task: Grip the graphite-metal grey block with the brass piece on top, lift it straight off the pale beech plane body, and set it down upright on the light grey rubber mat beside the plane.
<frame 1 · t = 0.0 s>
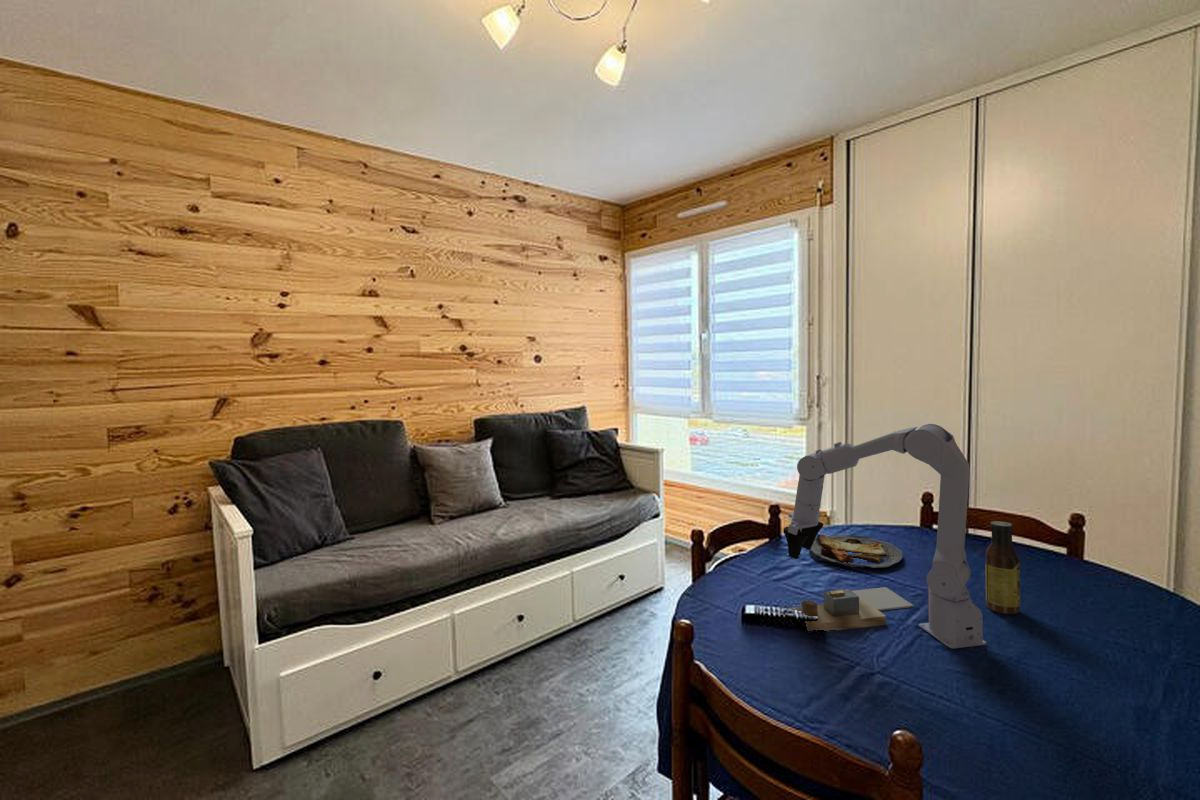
hand: (799, 552, 134), 11 cm above the table, tool pointing down, fingers open, 7 cm apart
grey block: (841, 611, 121), point 2 cm above the table, touching plane body
plane body: (837, 620, 121), on the table
food plate: (853, 556, 157), on the table
sauce bottle: (1002, 609, 122), on the table
rubber mat: (879, 599, 129), on the table
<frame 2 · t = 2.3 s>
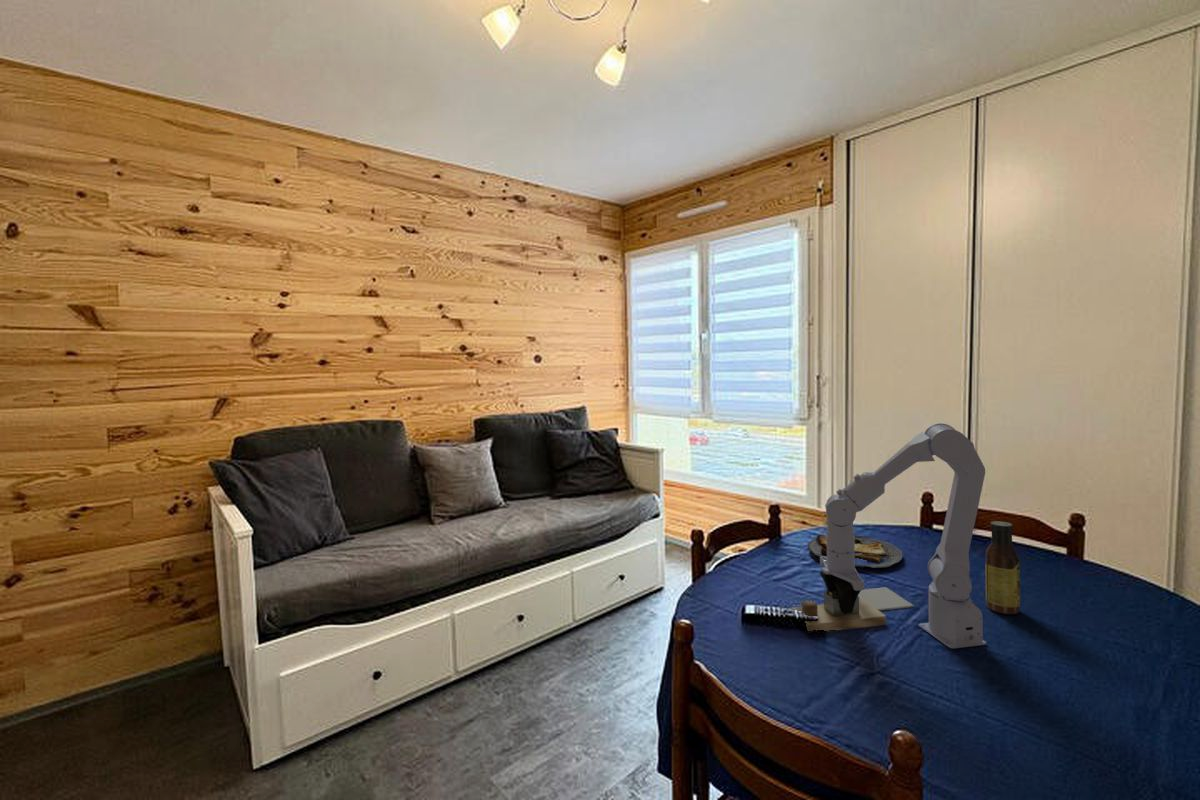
hand: (841, 607, 121), 3 cm above the table, tool pointing down, fingers closed on grey block, 4 cm apart
grey block: (841, 611, 121), point 2 cm above the table, touching gripper, plane body
everything else where it was.
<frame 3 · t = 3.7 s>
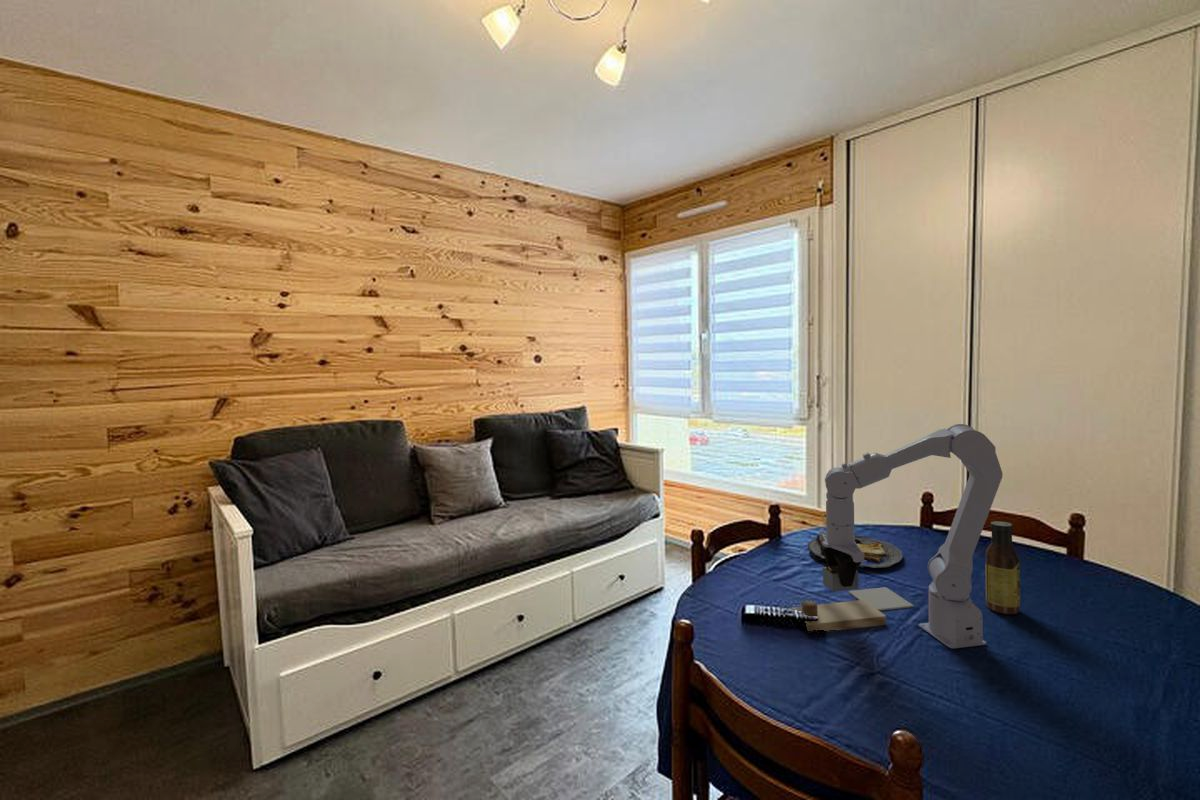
hand: (841, 581, 120), 9 cm above the table, tool pointing down, fingers closed on grey block, 4 cm apart
grey block: (840, 586, 120), point 8 cm above the table, touching gripper
everything else where it was.
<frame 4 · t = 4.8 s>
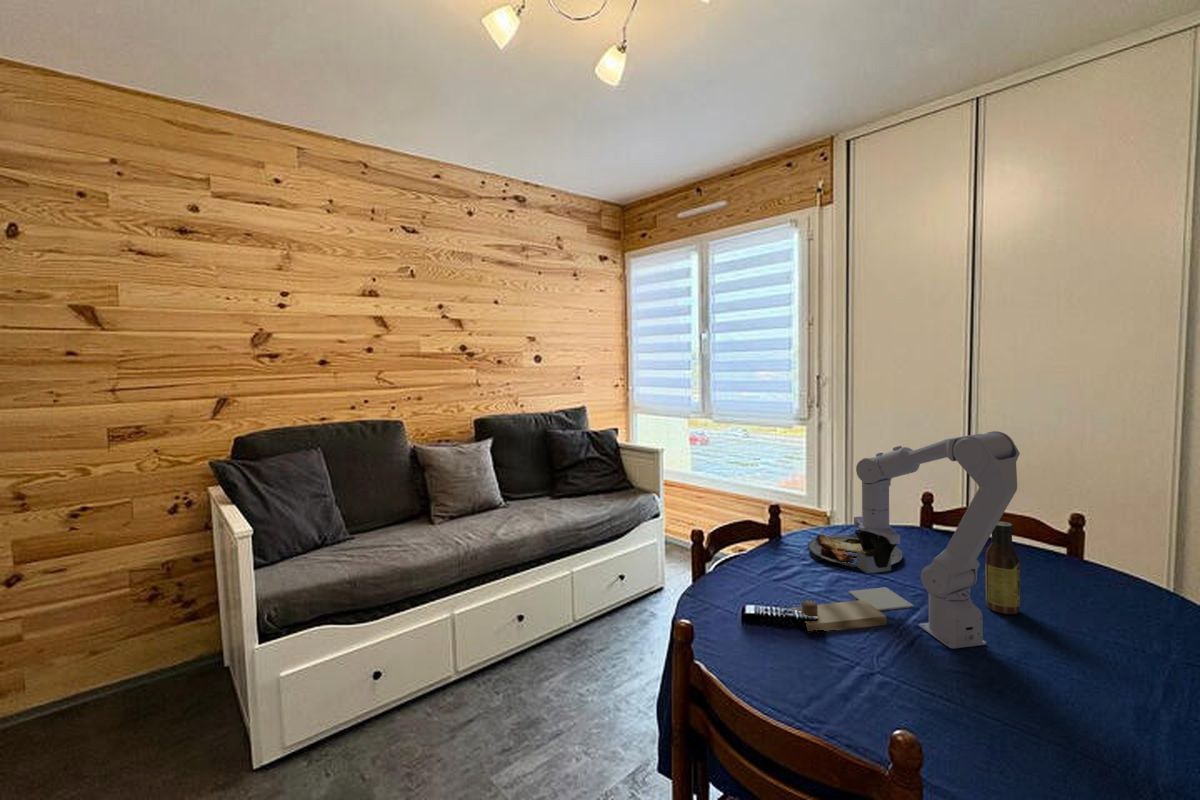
hand: (875, 563, 128), 9 cm above the table, tool pointing down, fingers closed on grey block, 4 cm apart
grey block: (873, 568, 128), point 8 cm above the table, touching gripper
everything else where it was.
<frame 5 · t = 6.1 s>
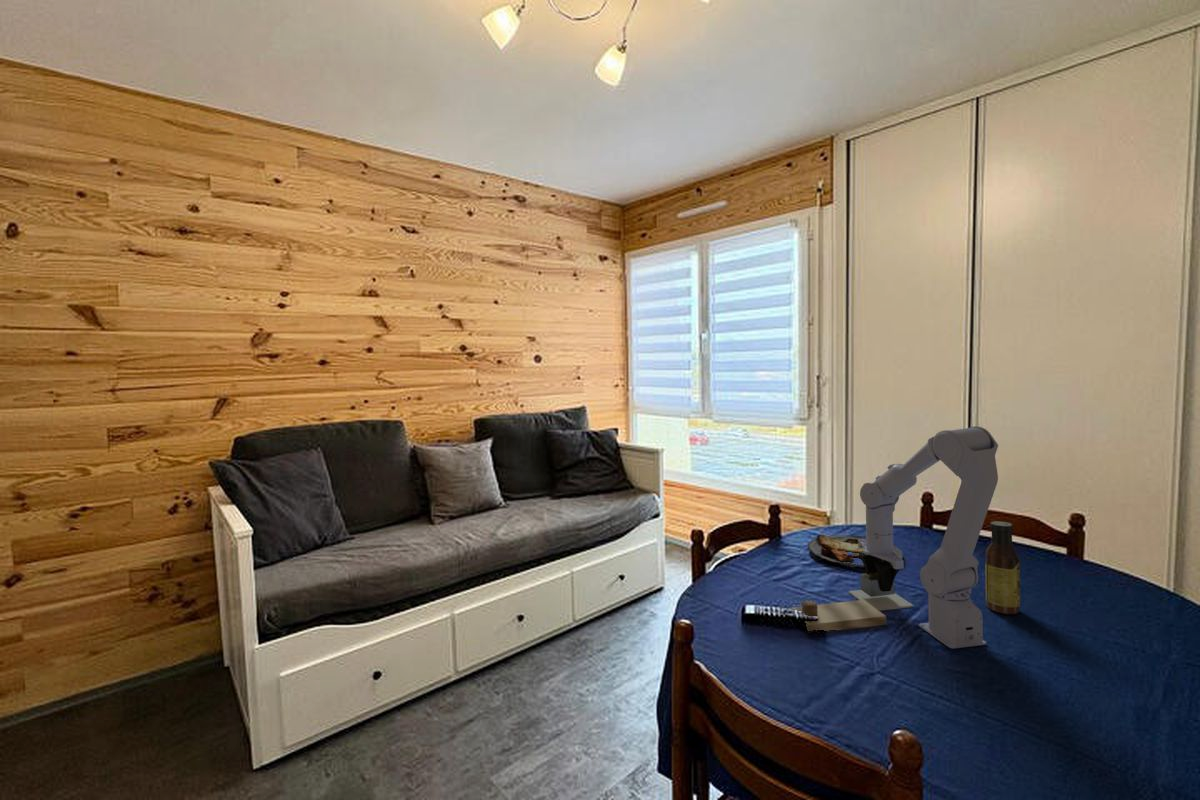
hand: (879, 586, 129), 3 cm above the table, tool pointing down, fingers closed on grey block, 4 cm apart
grey block: (877, 591, 129), point 2 cm above the table, touching gripper
everything else where it was.
when the fingers open (3 cm above the table, at t = 7.1 s): grey block stays where it is, resting on rubber mat.
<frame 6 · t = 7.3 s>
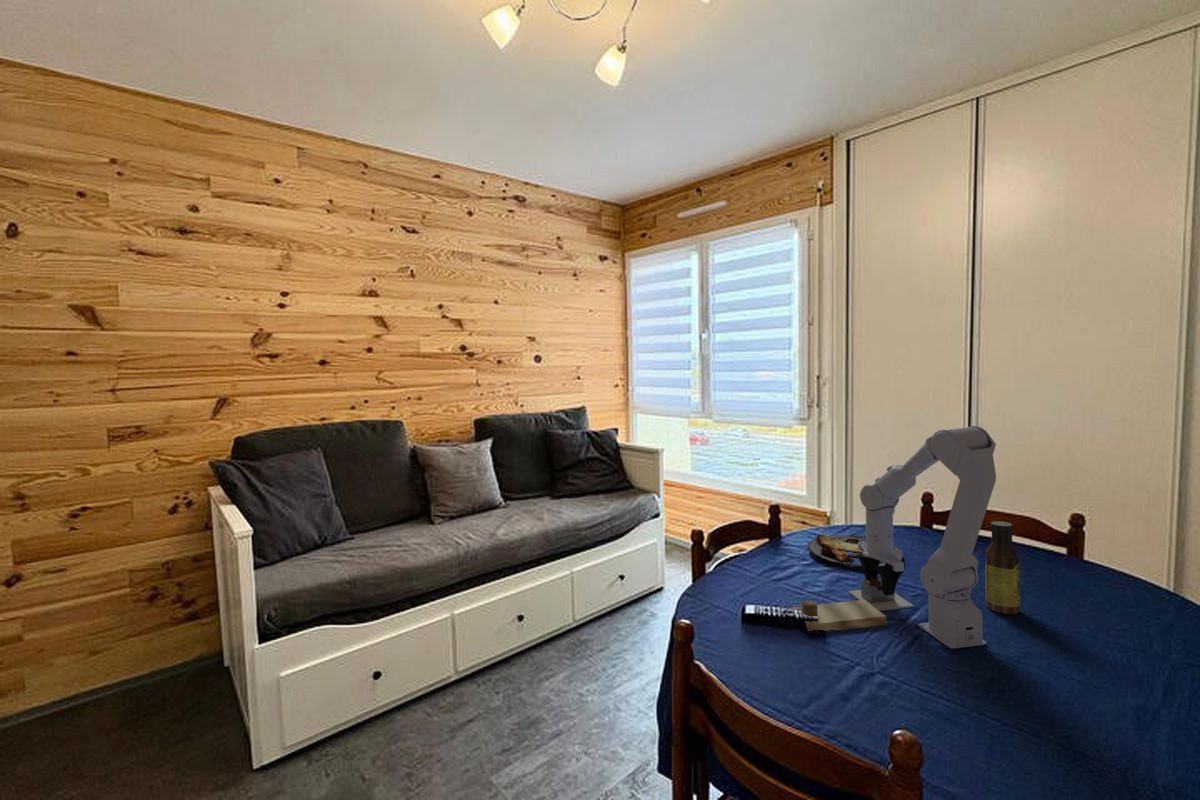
hand: (879, 588, 129), 3 cm above the table, tool pointing down, fingers open, 6 cm apart
grey block: (877, 598, 129), resting on rubber mat
everything else where it was.
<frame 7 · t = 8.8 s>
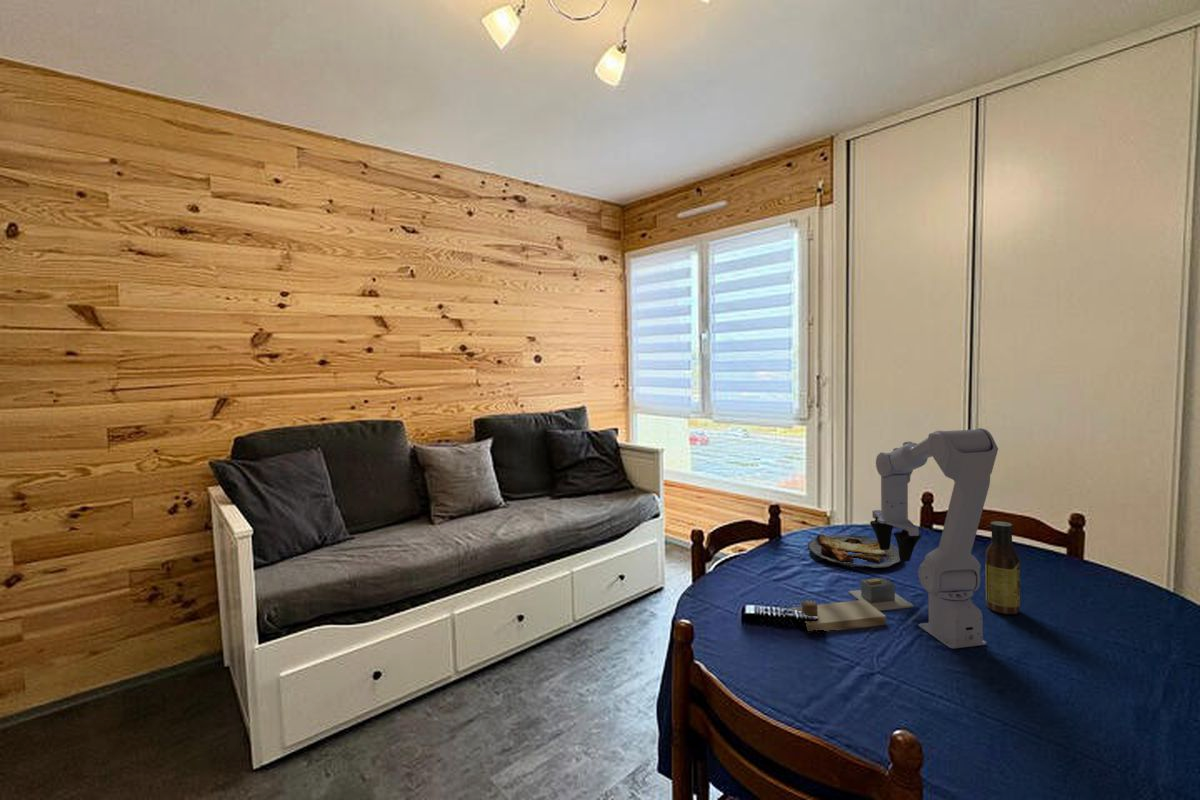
hand: (894, 554, 132), 9 cm above the table, tool pointing down, fingers open, 7 cm apart
nothing on the table moved.
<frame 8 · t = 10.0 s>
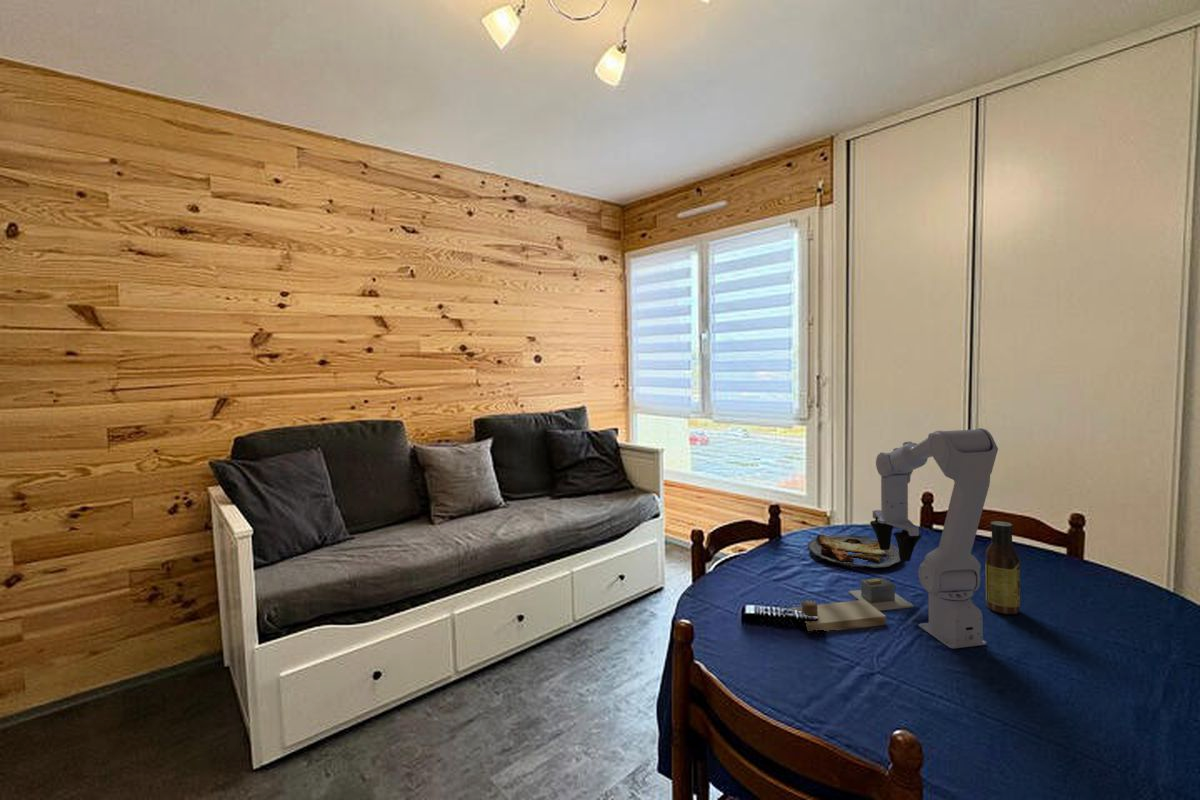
hand: (894, 554, 132), 9 cm above the table, tool pointing down, fingers open, 7 cm apart
nothing on the table moved.
at the end: grey block inside the target area on the rubber mat (0.5 cm from its centre), point 0.4 cm above the rubber mat's base; grey block touching rubber mat; grey block tilted 0° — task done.
